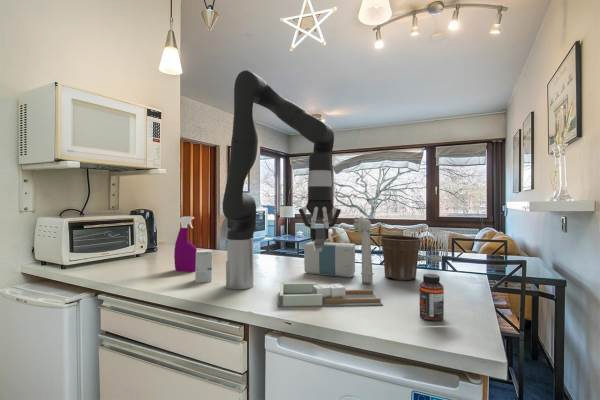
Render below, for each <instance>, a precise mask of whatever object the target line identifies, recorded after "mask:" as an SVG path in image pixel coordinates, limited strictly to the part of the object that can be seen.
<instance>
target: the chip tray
mask: <svg viewBox="0 0 600 400" xmlns="http://www.w3.org/2000/svg"><path fill="white" fill-rule="evenodd" d="M318 284H319V283H318V282H282V283H281V282H280V284H279V286H280V287H279V292H280V306H315V305H322V294H300V295H283V293H312V285H318Z"/></svg>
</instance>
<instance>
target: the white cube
mask: <svg viewBox="0 0 600 400" xmlns="http://www.w3.org/2000/svg"><path fill="white" fill-rule="evenodd" d="M312 294H322V301H324V298H331V287H329V286H328V284H326V283H320V284H319V283H318V285H312Z"/></svg>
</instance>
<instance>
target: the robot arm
mask: <svg viewBox="0 0 600 400" xmlns="http://www.w3.org/2000/svg"><path fill="white" fill-rule="evenodd" d="M254 104H256V105H259V106H261V107H263V108H266V109H268V110H269V111H270V112H272V113H273V114H274V115H275V116H276V117H277V118H278V119H279V120H280V121H281V122H283V123H284V124H286V125H287V126H289V127H291V128H292V129H293V130H295V131H296V132H298V133H299V134H300V135H301V136H302V137H303V138H305V139H306V140H308V141H309V142H310V143H312V144H313V151H312V153H310V154H309V157H308V175H307V203H306V205H305V206H304V207H302V208H299V209H298V213H299V215H300V216H301V219H302V221H303V224H304V226H305V227H307V228H309V230H310V231H309V234H310V236H309V237H310V239H311V240H312V241H314V240H315V228H316V227H315V226H316V221H317V218H318V219H319V218H322V221H323V228H325V233H326V240H327V239H329V236H330V235H329V230H330V228H331V227H332V228H333V227H335V225H336V223H337V221H338V218H339V217H340V214H341V212H342V211H341V209H340V208H337V207H334V204H333V201H332V200H333V199H332V193H333V191H332V189H333V188H332V187H333V184H332V181H333V179H332V178H333V177H332V154H333V150H334V144H335V133H334V130H333V128H332V126H330V125H329V124H327V123H325V122H324V121H322V120H320V119H319V118H317V117H315V116H314V115H312V114H310V113H309V112H308V111H307V110H306V109H304V108H302V107H301V106H300V105H298V104H297V103H294V102H293V101H292V100H289V99H287V98H286V97H284V96H282V95H281V94H279V93H278V92H277V91H275V89H273V88H272V87H271V86H270V85H269V84H268V83H267V82H266V81H265V79H263V78H262V76H261V77H260V75H258V74H255V73H254V72H252V71H250V70H246V69H244V70H242V71H240V72H239V73H238V74H237V76H236V78H235V80H234V87H233V120H232V121H233V122H232V134H231V135H232V136H231V142H230V151H229V153H230V154H229V164H228V170H227V171H228V172H227V180H226V185H225V188H224V189H225V190H224V194H223V199H222V213H223V215H224V217H225V218H226V219H227V220H229V221H235V224H234V225H233V227H231V228H230V229H229V230H228V231H227V233H226V234H227V235H226V237H227V238H226V239H227V243H226V246H227V249H226V252H227V253H226V255H227V257H226V258H227V260H226V261H225V289H229V290H235V291H237V290H246V289H251V288H253V286H254V234H255V231H256V226H257V204H256V200H255V198H254V197H253V196H252V195H250V194H248V193H247V194H246V193H244V188H245V187H244V186H245V181H246V179H247V177H248V176H249V175H248V174H249V173H250V172H251V170H252V168H253V167H254V165H255V162H256V159H257V155H258V154H257V153H258V145H259V138H258V133H257V132H258V131H257V128H256V125H255V120H254V115H253V108H254ZM307 211H308V213H310V215H311V218H310V222H308V219H307V216H306V214H307ZM331 212H332V214H333V216H332V217H331V220H330V221H329V217H328V216H329V214H331ZM326 240H325V242H327V241H326Z"/></svg>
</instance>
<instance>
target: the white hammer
mask: <svg viewBox="0 0 600 400" xmlns="http://www.w3.org/2000/svg"><path fill="white" fill-rule="evenodd" d="M353 221H354V222H353V227H352V228H353V231H354V233H359V234H361V272H360V275H361V284H363V285H372V284H373V283H374V282H373V275H374V273H373V262H372V261H373V260H372V246H371V232H370V231H371V229H372V228H371V227H372V223H371V220H370V219H369V218H364V217H363V216H359V217H354V219H353Z"/></svg>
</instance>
